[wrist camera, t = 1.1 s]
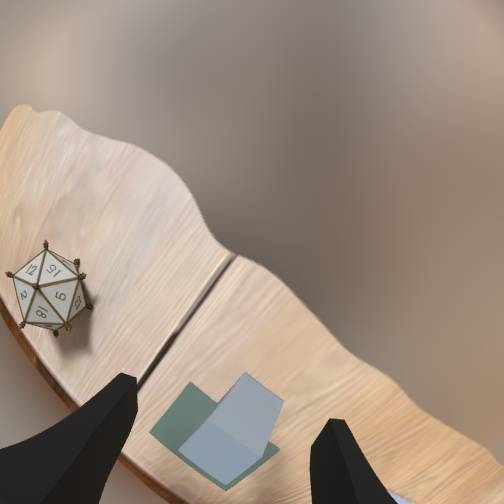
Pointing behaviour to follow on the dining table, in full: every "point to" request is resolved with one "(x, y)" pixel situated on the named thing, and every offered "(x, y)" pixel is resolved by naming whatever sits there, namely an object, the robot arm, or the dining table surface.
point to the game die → (49, 291)
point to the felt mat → (185, 423)
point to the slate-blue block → (234, 430)
